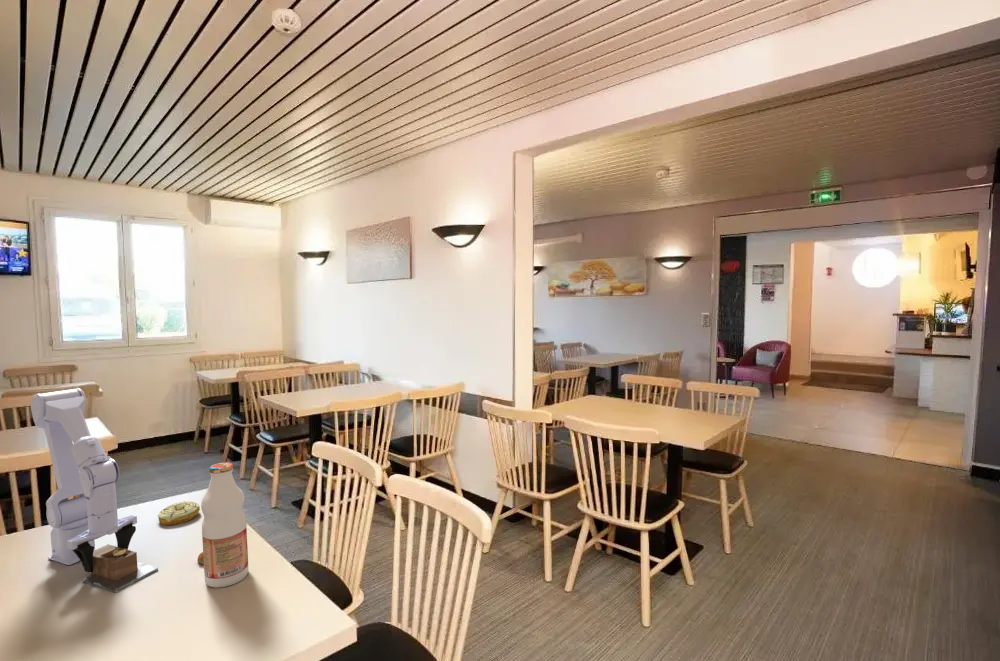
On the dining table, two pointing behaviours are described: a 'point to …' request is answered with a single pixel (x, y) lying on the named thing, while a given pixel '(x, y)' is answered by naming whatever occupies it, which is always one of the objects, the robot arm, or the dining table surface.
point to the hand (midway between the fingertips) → (106, 563)
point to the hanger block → (113, 563)
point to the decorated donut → (178, 513)
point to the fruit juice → (224, 529)
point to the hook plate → (123, 582)
